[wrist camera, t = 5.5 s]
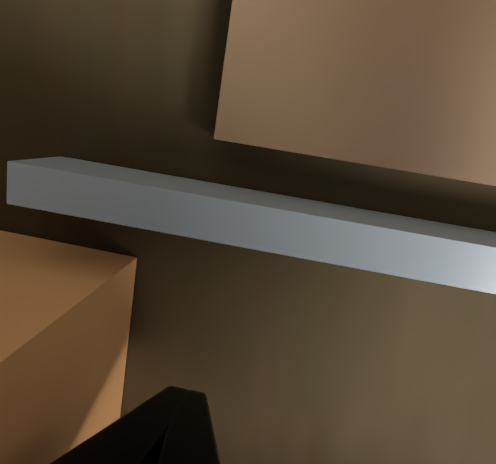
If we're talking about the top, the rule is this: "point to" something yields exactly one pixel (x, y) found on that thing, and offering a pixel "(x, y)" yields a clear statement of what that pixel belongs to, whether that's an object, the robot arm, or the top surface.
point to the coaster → (365, 82)
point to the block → (60, 344)
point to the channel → (258, 220)
